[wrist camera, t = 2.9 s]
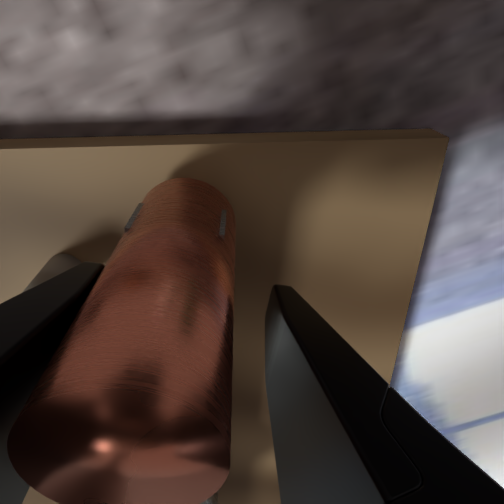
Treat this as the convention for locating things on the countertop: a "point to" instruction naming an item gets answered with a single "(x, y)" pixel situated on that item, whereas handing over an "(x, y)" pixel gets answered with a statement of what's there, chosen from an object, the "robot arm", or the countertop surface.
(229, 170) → the board
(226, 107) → the countertop surface
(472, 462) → the robot arm
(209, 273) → the lever
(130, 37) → the countertop surface
